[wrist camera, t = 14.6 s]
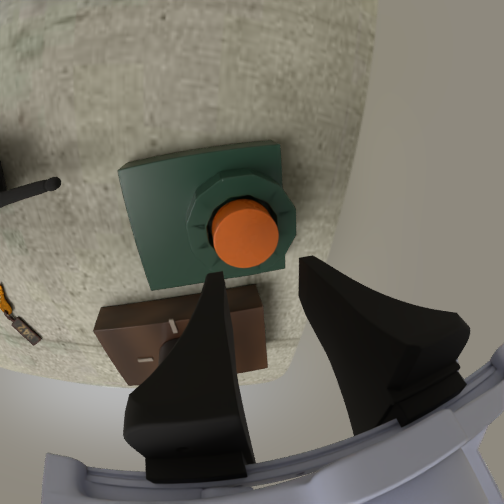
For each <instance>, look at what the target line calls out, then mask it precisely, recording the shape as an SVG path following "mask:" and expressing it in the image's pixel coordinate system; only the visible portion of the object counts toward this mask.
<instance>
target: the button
mask: <svg viewBox="0 0 504 504" xmlns="http://www.w3.org/2000/svg"><path fill="white" fill-rule="evenodd" d="M212 235H213V243H214V248H215V251H216V253H217V254H218V256H219V257H220V258H221V259H222V260H223V261H224V262H225V263H227V264H229V265H231V266H234V267H238V268H249V267H254V266H257V265H259V264H261V263H263V262H264V261H266V260H267V259H268V258H269V257H270V256H271V255H272V254H273V252H274V251H275V249H276V247H277V244H278V239H279V233H278V228H277V225H276V223H275V222H274V220H273V218H272V217H271V215H270V214H269V212H268V211H267V209H266V208H265V207H264V206H263V205H261V204H260V203H258V202H256V201H254V200H250V199H238V200H234V201H231V202H229V203H227V204H225V205H224V206H223V207H222V208H220V210H219V211H218V212H217V213H216V215H215V217H214V219H213V223H212Z"/></svg>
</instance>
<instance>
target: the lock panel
mask: <svg viewBox="0 0 504 504" xmlns="http://www.w3.org/2000/svg"><path fill="white" fill-rule="evenodd" d="M226 293H227V298H228V304H229V310H230V315H231V321H232V326H233V334H234V346H235V358H236V369H237V374H238V373H243V372H249V371H254V370H259V369H264V368H268V364H267V350H266V337H265V323H264V310H263V304H262V302H261V299H260V296H259V293H258V290H257V287H256V284H253V285H247V286H241V287H236V288H230V289H226ZM200 295H201V293H200V294H193V295H187V296H180V297H174V298H167V299H161V300H154V301H147V302H140V303H133V304H125V305H118V306H110V307H102V308H101V309H100V312H99V315H98V318H97V320H96V323H95V327H94V330H93V331H94V333H95V335H96V336H97V338H98V340H99V342H100V343H101V345H102V346H103V348H104V350H105V351H106V353H107V354H108V356H109V358H110V359H111V361H112V362H113V364H114V365H115V367H116V368H117V370H118V371H119V373H120V374H121V376H122V377H123V378H124V380H125V381H126V383H127V384H128V385H129V386H132V385H141V384H142V383H143V382H144V381H145V380H146V379H147V378H148V377H149V376H150V375H151V374H152V373H153V372H154V370H155V369H156V368H157V367H158V362H159V351H160V348H161V347H162V346H163V345H164V344H165V343H166V342H168V341H170V340H173V339H178V338H180V336H181V335H182V333H183V331H184V330H185V328H186V326H187V324H188V322H189V320H190V318H191V316H192V314H193V312H194V310H195V308H196V305H197V303H198V300H199V298H200Z"/></svg>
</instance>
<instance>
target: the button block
mask: <svg viewBox="0 0 504 504" xmlns="http://www.w3.org/2000/svg"><path fill="white" fill-rule="evenodd" d="M118 176H119V180H120V185H121V189H122V193H123V197H124V201H125V205H126V209H127V213H128V217H129V221H130V224H131V228H132V231H133V235H134V238H135V242H136V245H137V249H138V252H139V255H140V258H141V261H142V265H143V268H144V271H145V274H146V277H147V280H148V283H149V286H150V288H151V291H153V290H160V289H166V288H172V287H179V286H185V285H191V284H198V283H204V282H205V277H206V275H207V274H208V273H214V272H220V271H223V275H224V279H228V278H234V277H235V278H236V277H242V276H248V275H253V274H259V273H263V272H268V271H274V270H279V269H285V254H286V252H287V250H288V248H289V247H290V245H291V243H292V241H293V239H294V238H295V236H296V209H295V206H294V205H293V203H292V202H291V200H290V199H289V197H288V196H287V194H286V193H285V191H284V190H283V186H282V166H281V148H280V144H278V143H276V142H274V141H272V140H267V141H256V142H247V143H238V144H229V145H222V146H214V147H208V148H201V149H195V150H189V151H183V152H177V153H172V154H167V155H161V156H157V157H152V158H147V159H142V160H138V161H134V162H129V163H126V164H125V165H123V166H122V167H121V168H120V169H119V170H118ZM238 199H250V200H254V201H256V202H258V203H260V204H261V205H263V206H264V207H265V208H266V209H267V211H268V212H269V214H270V215H271V217H272V218H273V220H274V222H275V223H276V225H277V228H278V233H279V239H278V244H277V247H276V249H275V251H274V252H273V254H272V255H271V256H270V257H269V258H268V259H267V260H266V261H264V262H263V263H261V264H259V265H257V266H254V267H249V268H238V267H234V266H231V265H229V264H227V263H225V262H224V261H223V260H222V259H221V258H220V257H219V256H218V254H217V253H216V251H215V248H214V243H213V235H212V223H213V219H214V217H215V215H216V213H217V212H218V211H219V210H220V208H222V207H223V206H224V205H225V204H227V203H229V202H231V201H234V200H238Z"/></svg>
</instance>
